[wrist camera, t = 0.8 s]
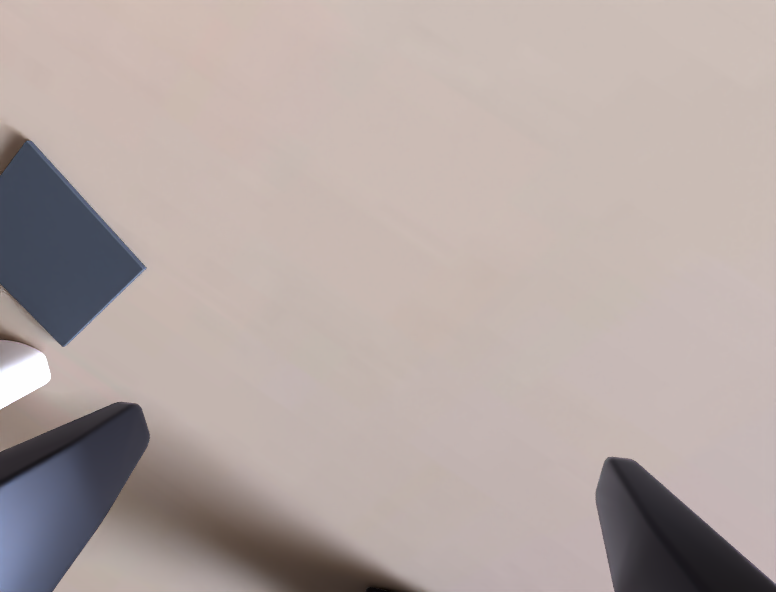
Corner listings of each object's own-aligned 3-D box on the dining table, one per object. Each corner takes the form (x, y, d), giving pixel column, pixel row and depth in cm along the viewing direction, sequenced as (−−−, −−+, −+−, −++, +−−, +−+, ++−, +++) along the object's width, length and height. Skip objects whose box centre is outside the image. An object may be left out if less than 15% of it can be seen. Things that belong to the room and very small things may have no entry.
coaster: (146, 267, 24) (143, 269, 24) (66, 345, 27) (62, 347, 27) (31, 140, 23) (26, 140, 22) (-41, 236, 25) (-46, 237, 25)
